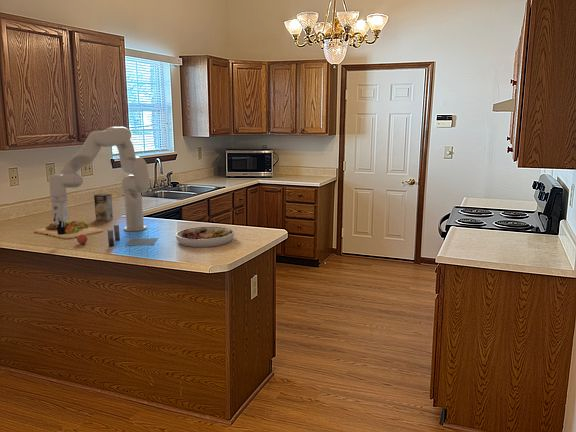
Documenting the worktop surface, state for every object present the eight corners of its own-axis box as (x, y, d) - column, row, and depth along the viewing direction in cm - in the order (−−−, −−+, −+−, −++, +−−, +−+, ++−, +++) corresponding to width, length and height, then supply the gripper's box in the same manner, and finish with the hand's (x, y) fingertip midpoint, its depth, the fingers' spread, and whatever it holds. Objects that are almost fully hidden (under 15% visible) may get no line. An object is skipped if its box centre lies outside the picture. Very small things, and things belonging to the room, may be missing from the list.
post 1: (109, 245, 252) (108, 229, 251) (114, 245, 252) (113, 229, 251) (108, 246, 250) (106, 231, 248) (113, 246, 250) (112, 230, 248)
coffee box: (95, 220, 316) (93, 195, 312) (101, 218, 322) (99, 193, 319) (107, 220, 313) (105, 195, 310) (113, 218, 319) (111, 194, 316)
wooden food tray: (105, 232, 284) (104, 219, 283) (67, 241, 265) (66, 227, 264) (69, 225, 303) (68, 213, 302) (32, 233, 284) (31, 220, 283)
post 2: (115, 239, 264) (114, 224, 262) (120, 239, 264) (119, 224, 263) (114, 240, 261) (113, 225, 260) (119, 240, 262) (118, 225, 260)
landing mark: (131, 239, 264) (131, 238, 264) (157, 238, 266) (157, 238, 265) (125, 245, 251) (125, 245, 251) (153, 245, 252) (153, 244, 252)
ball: (79, 242, 258) (78, 233, 257) (89, 242, 258) (88, 233, 257) (76, 245, 253) (75, 235, 252) (86, 244, 253) (85, 235, 252)
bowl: (196, 233, 278) (195, 219, 277) (244, 237, 267) (243, 223, 266) (164, 246, 251) (163, 231, 249) (216, 251, 240) (215, 235, 238)
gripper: (61, 200, 243) (63, 237, 246) (71, 196, 258) (73, 231, 261) (45, 201, 242) (48, 237, 245) (56, 196, 257) (59, 231, 260)
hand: (61, 234), depth 253 cm, fingers closed
